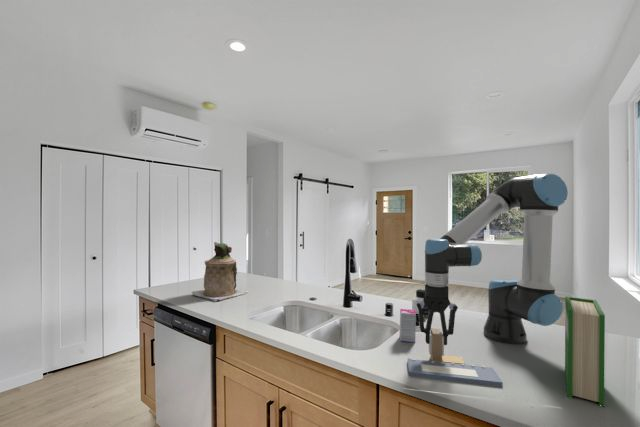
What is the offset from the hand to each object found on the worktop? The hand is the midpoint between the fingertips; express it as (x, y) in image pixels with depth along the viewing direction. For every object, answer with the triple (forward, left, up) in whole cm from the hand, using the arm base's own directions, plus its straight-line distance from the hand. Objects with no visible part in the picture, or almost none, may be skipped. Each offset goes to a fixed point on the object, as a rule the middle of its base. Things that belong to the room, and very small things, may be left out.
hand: (436, 353), depth 107 cm
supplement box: (+9, -16, -3) cm, 18 cm away
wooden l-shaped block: (-3, 0, -2) cm, 4 cm away
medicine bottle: (0, -51, -3) cm, 51 cm away
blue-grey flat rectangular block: (-3, +9, -3) cm, 10 cm away
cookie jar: (+116, -61, -3) cm, 131 cm away
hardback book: (-39, +8, -3) cm, 40 cm away
